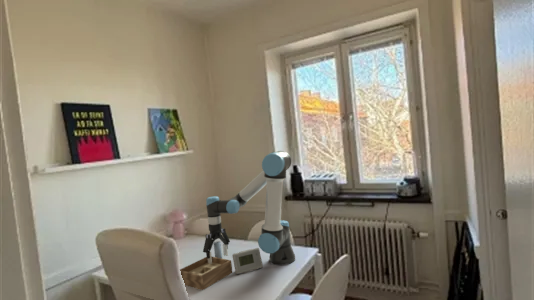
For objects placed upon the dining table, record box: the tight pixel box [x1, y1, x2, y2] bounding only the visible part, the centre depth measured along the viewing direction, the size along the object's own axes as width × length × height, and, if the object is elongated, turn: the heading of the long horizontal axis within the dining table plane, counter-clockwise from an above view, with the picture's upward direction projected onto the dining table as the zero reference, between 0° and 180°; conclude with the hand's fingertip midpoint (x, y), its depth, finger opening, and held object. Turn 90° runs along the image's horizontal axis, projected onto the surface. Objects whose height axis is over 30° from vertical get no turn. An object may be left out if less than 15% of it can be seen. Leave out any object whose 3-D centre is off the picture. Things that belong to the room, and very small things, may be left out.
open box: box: [179, 256, 233, 291], centre depth 174 cm, size 18×22×7 cm
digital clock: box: [231, 247, 264, 275], centre depth 180 cm, size 16×9×11 cm, turn 102°
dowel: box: [213, 240, 223, 259], centre depth 189 cm, size 4×4×14 cm
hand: (218, 259), depth 189 cm, fingers open, 12 cm apart
